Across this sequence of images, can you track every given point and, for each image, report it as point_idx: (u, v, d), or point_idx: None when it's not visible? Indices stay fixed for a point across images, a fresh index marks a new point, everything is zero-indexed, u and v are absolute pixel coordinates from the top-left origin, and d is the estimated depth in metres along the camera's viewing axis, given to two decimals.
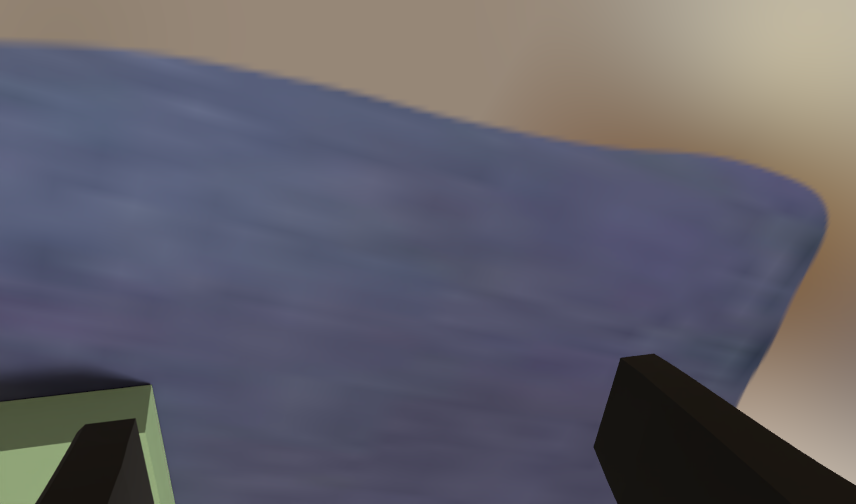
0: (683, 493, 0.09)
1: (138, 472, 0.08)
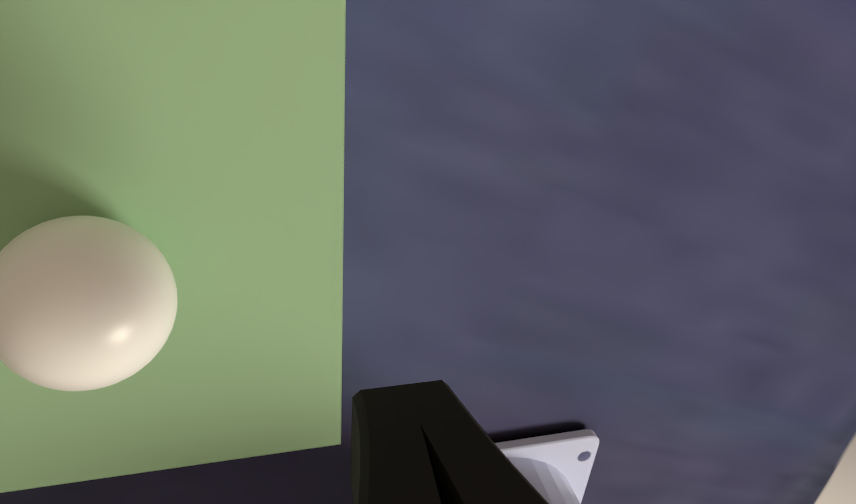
0: None
1: None
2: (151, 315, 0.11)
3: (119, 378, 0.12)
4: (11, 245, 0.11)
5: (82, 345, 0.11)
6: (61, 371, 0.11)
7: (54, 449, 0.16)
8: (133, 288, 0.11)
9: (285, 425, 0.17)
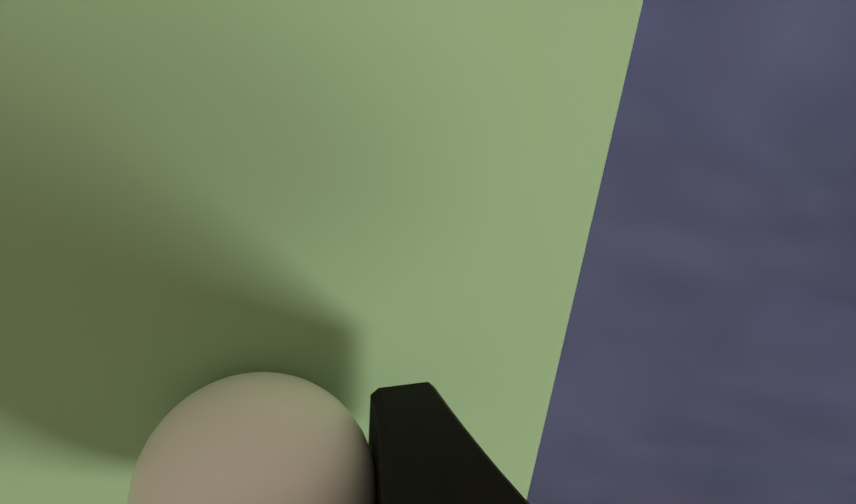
0: None
1: None
2: None
3: None
4: (175, 431, 0.08)
5: None
6: None
7: None
8: (339, 499, 0.08)
9: None
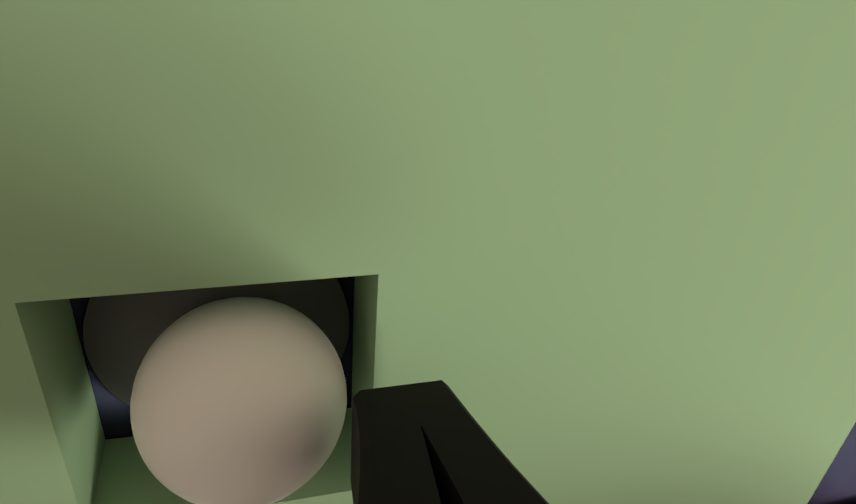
0: None
1: None
2: None
3: None
4: (177, 360, 0.09)
5: (313, 442, 0.09)
6: (289, 481, 0.09)
7: None
8: (330, 362, 0.10)
9: None
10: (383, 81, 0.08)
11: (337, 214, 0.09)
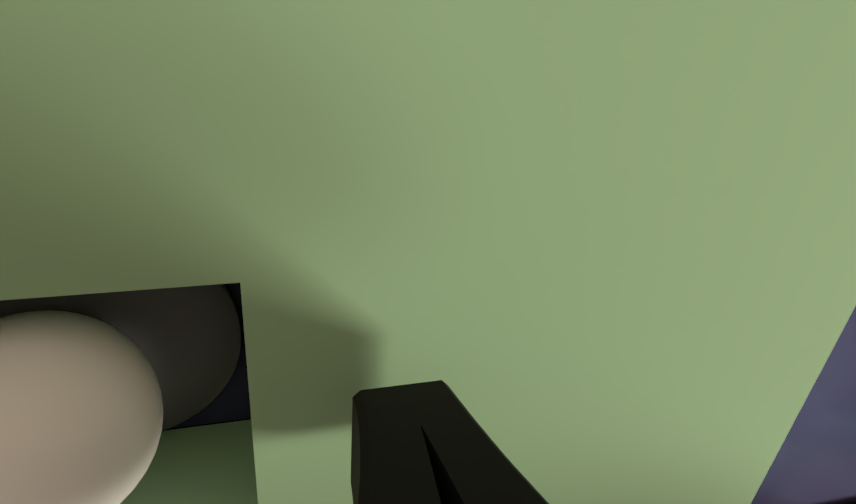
0: None
1: None
2: (121, 450, 0.09)
3: None
4: None
5: (24, 501, 0.08)
6: None
7: None
8: (94, 420, 0.08)
9: None
10: (218, 75, 0.07)
11: (184, 219, 0.08)
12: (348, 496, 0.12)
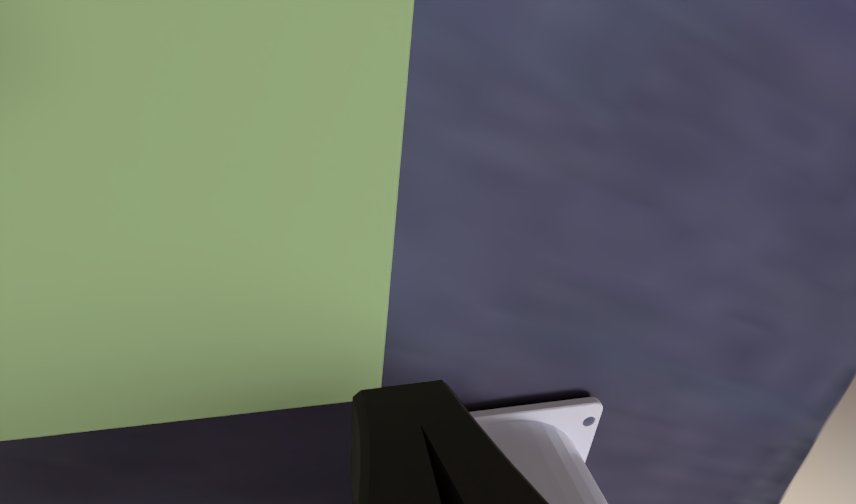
0: None
1: None
2: None
3: None
4: None
5: None
6: None
7: (137, 393, 0.18)
8: None
9: (334, 378, 0.19)
10: None
11: None
12: None
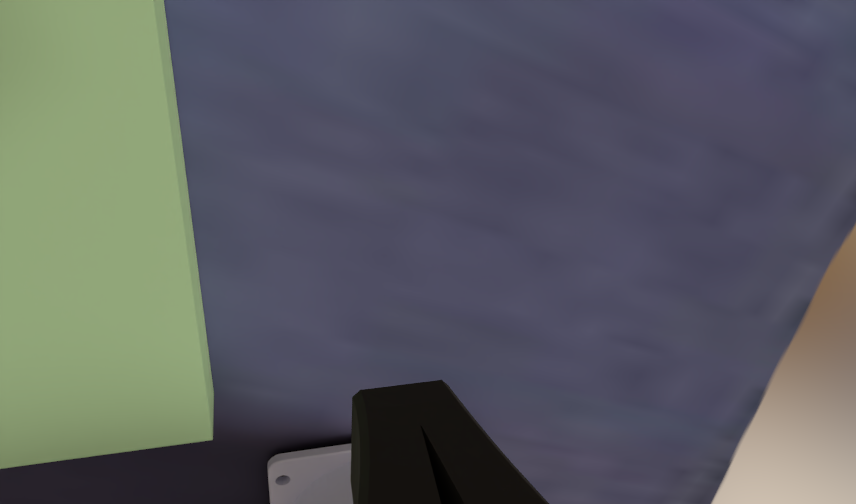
0: None
1: None
2: None
3: None
4: None
5: None
6: None
7: None
8: None
9: (156, 422, 0.19)
10: None
11: None
12: None
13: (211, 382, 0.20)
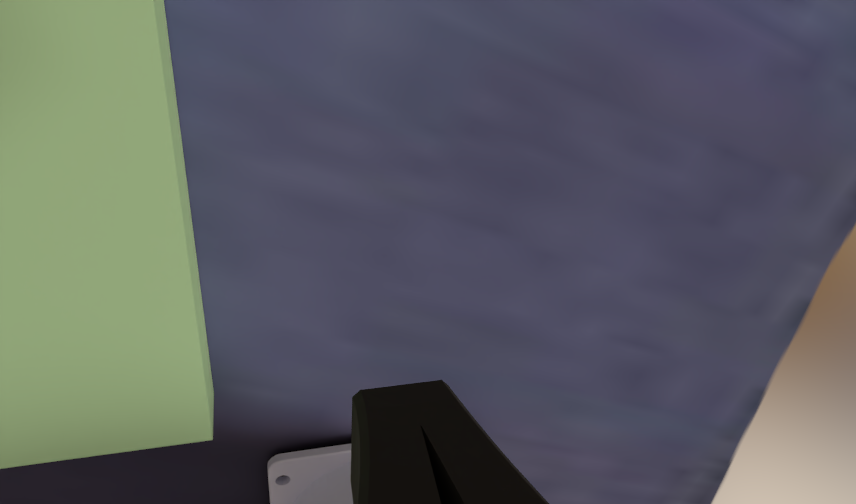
0: None
1: None
2: None
3: None
4: None
5: None
6: None
7: None
8: None
9: (156, 422, 0.19)
10: None
11: None
12: None
13: (211, 382, 0.20)
